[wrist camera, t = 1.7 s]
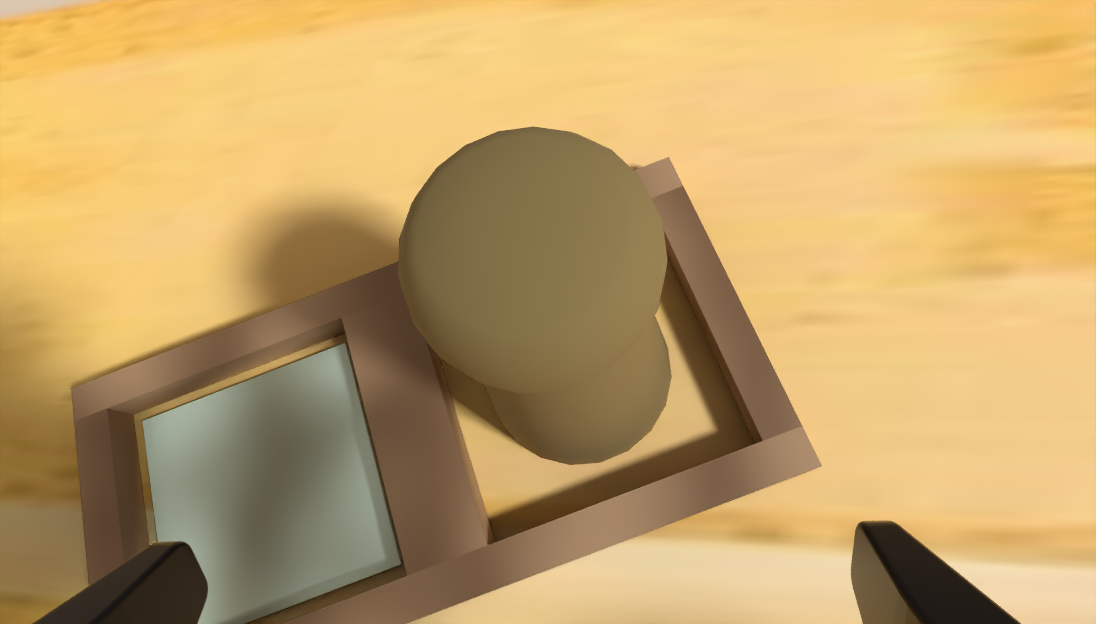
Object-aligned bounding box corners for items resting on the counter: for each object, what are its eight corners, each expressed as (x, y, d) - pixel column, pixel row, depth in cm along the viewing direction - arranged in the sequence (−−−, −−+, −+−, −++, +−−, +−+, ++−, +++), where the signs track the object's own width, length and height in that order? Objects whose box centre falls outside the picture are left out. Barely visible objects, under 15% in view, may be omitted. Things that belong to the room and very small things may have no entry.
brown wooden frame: (132, 726, 20) (102, 738, 19) (98, 395, 24) (71, 388, 23) (811, 470, 20) (822, 466, 19) (667, 175, 23) (668, 156, 22)
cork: (698, 320, 22) (746, 123, 11) (630, 496, 20) (615, 454, 10) (531, 261, 23) (440, 40, 13) (457, 421, 22) (287, 317, 11)
